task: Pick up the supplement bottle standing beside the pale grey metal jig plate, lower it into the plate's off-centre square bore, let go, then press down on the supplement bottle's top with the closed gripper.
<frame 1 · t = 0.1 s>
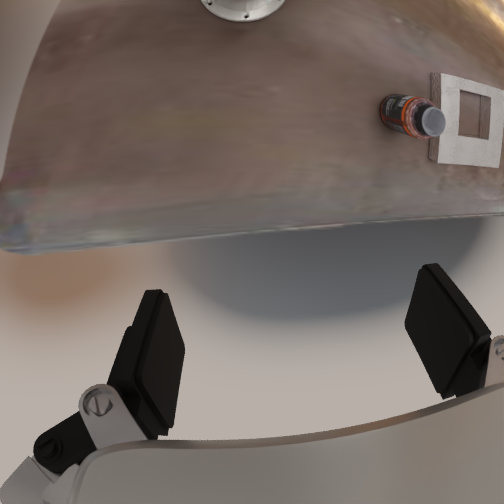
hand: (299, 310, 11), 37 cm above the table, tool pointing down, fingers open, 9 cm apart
jig: (464, 120, 40), on the table
supplement bottle: (394, 111, 40), on the table
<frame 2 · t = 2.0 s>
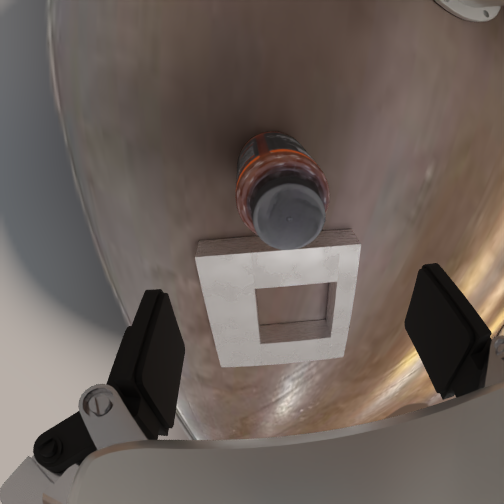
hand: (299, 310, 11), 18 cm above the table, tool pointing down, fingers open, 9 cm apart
jig: (279, 298, 34), on the table
supplement bottle: (272, 162, 26), on the table
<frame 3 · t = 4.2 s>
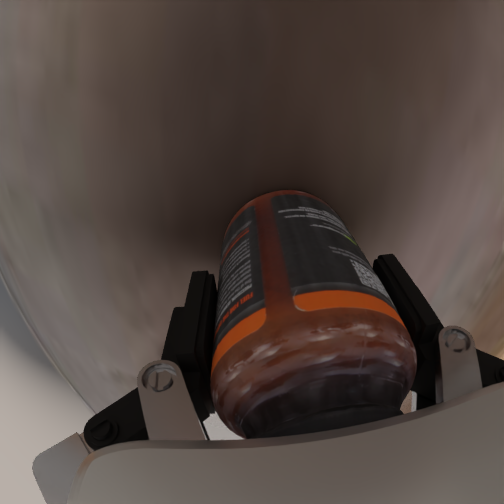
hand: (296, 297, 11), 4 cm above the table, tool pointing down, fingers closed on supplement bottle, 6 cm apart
jig: (287, 405, 23), on the table
supplement bottle: (284, 241, 15), on the table, touching gripper
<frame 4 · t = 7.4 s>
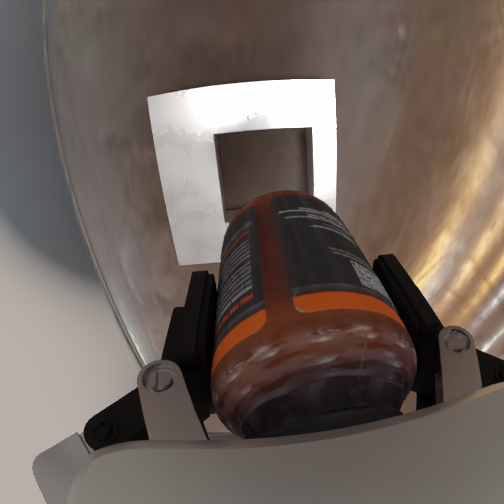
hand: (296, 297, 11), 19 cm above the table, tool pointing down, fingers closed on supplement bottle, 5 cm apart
jig: (248, 168, 28), on the table
supplement bottle: (284, 242, 15), point 15 cm above the table, touching gripper
when the fingers open (5 cm above the table, at t = 10.6 s): supplement bottle drops 1 cm, resting in jig.
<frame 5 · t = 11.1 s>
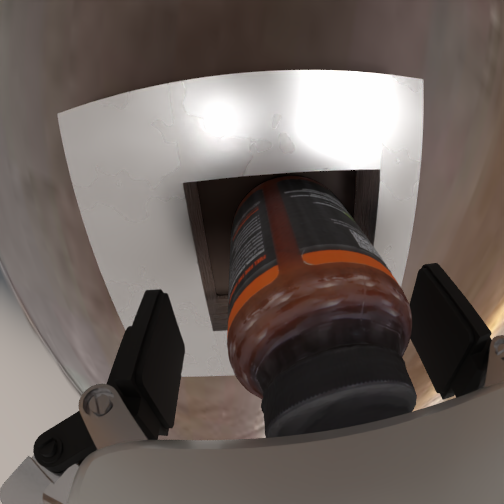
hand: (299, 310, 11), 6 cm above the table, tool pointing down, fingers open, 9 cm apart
jig: (252, 232, 16), on the table
supplement bottle: (288, 224, 16), resting in jig
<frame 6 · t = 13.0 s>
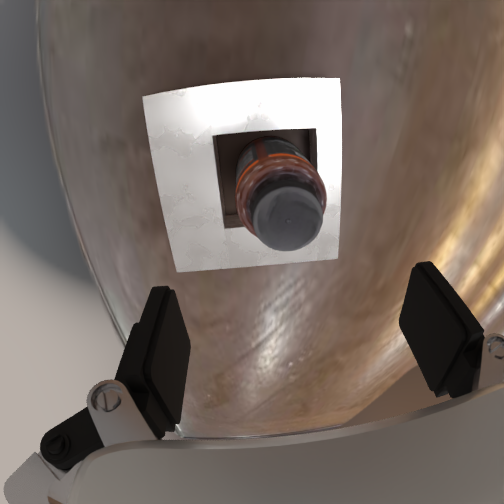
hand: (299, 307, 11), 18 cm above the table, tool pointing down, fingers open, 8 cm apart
jig: (248, 171, 26), on the table
supplement bottle: (270, 166, 27), resting in jig
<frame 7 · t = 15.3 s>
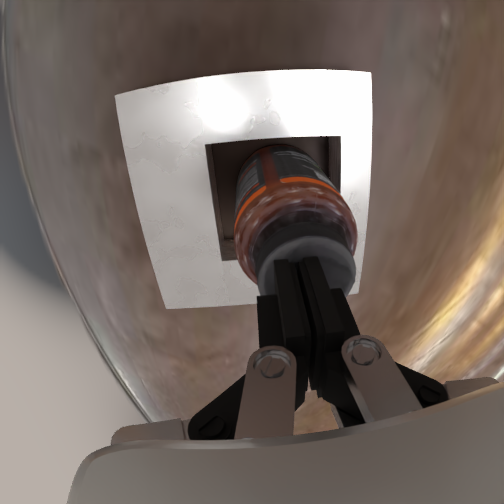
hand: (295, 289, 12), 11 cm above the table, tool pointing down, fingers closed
jig: (252, 187, 21), on the table
supplement bottle: (279, 182, 21), resting in jig, touching gripper
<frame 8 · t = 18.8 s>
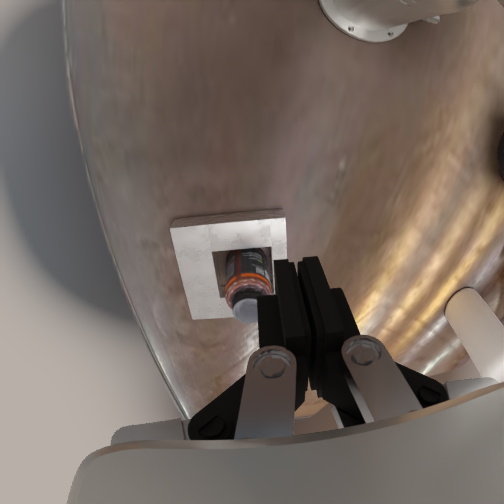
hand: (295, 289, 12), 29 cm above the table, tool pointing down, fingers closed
alcohol: (459, 302, 52), on the table
jig: (234, 263, 46), on the table
supplement bottle: (246, 260, 46), resting in jig
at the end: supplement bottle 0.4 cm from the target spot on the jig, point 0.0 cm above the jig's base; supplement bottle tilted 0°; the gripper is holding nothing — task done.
